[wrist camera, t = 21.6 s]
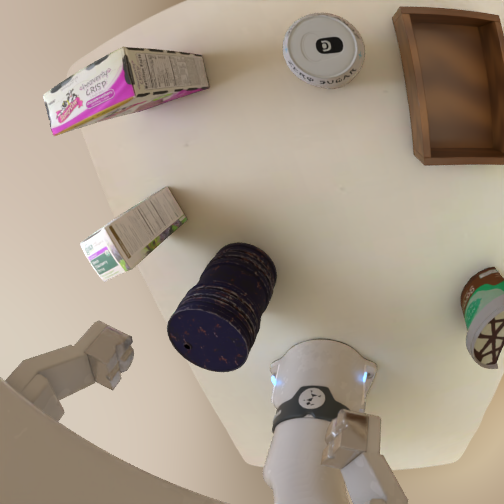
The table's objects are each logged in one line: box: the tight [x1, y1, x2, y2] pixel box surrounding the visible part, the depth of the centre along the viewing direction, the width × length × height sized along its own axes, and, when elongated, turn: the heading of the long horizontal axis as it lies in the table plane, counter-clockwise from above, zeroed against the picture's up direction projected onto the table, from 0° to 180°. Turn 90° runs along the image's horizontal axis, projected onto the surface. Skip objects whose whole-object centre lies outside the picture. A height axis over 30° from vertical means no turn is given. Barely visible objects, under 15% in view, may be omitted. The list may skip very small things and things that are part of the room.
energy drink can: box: [283, 13, 365, 89], centre depth 24 cm, size 6×6×15 cm
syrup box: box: [80, 187, 187, 282], centre depth 39 cm, size 6×6×14 cm
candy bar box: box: [43, 47, 209, 136], centre depth 29 cm, size 11×5×16 cm, turn 103°
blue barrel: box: [167, 243, 277, 372], centre depth 41 cm, size 10×10×15 cm
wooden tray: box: [392, 7, 504, 165], centre depth 25 cm, size 17×12×6 cm
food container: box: [461, 267, 504, 369], centre depth 34 cm, size 12×6×10 cm, turn 12°
